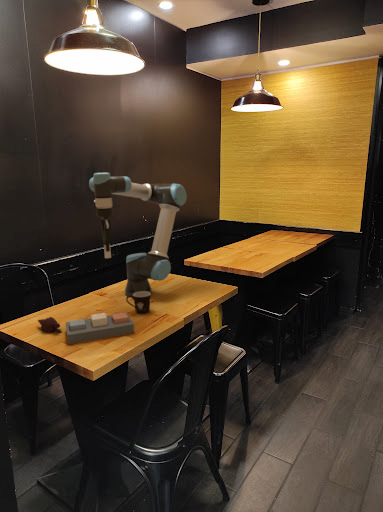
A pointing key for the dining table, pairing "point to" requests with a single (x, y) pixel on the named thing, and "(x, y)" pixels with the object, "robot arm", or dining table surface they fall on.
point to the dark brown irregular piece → (49, 325)
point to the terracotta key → (119, 318)
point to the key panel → (99, 330)
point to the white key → (98, 320)
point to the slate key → (77, 324)
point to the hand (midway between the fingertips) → (108, 257)
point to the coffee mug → (141, 302)
